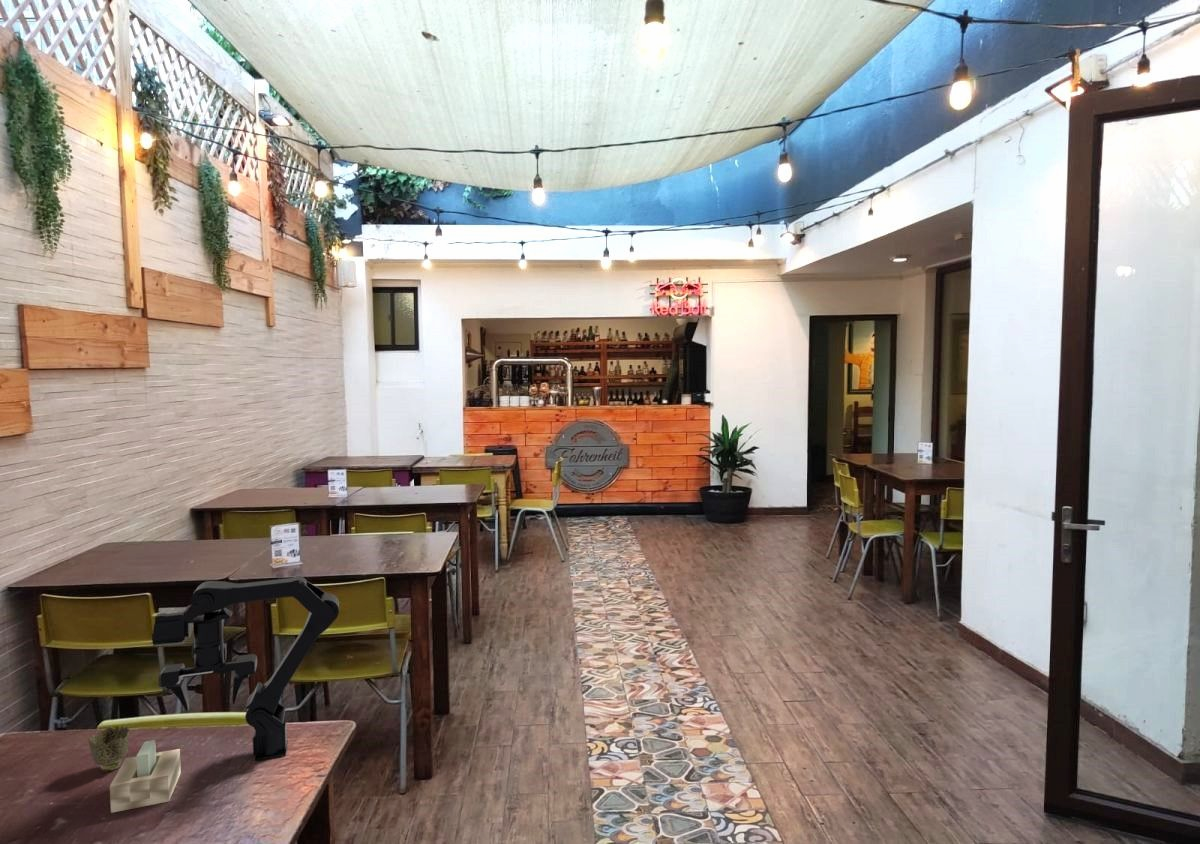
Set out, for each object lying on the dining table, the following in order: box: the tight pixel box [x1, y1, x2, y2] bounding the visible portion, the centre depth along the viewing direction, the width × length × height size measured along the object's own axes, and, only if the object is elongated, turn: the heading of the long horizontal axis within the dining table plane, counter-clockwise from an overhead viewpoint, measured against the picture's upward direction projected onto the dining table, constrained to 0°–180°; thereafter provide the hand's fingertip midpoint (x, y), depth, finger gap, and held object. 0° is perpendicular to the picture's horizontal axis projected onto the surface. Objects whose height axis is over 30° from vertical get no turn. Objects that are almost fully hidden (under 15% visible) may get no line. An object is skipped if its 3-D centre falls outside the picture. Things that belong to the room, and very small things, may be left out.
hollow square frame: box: [109, 748, 182, 814], centre depth 141 cm, size 10×11×6 cm
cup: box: [88, 725, 131, 772], centre depth 150 cm, size 8×7×8 cm
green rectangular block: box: [136, 739, 157, 777], centre depth 141 cm, size 2×6×8 cm, turn 21°
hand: (211, 706), depth 151 cm, fingers open, 9 cm apart
